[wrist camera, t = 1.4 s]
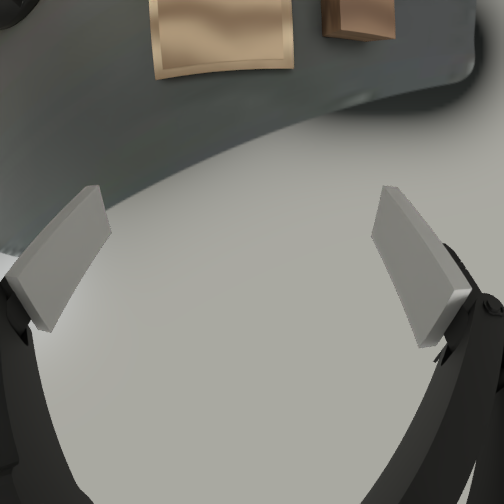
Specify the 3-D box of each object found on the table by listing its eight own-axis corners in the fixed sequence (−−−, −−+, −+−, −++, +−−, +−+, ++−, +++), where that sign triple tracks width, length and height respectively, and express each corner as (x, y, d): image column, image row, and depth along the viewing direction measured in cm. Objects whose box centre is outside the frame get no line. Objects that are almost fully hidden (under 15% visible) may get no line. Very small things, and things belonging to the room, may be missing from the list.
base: (157, -20, 19) (147, -26, 17) (286, -34, 19) (288, -42, 16) (164, 78, 27) (154, 80, 25) (291, 68, 27) (294, 68, 24)
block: (320, -3, 21) (338, -20, 15) (364, 3, 21) (393, -9, 14) (322, 36, 24) (341, 29, 18) (365, 41, 24) (395, 38, 17)
